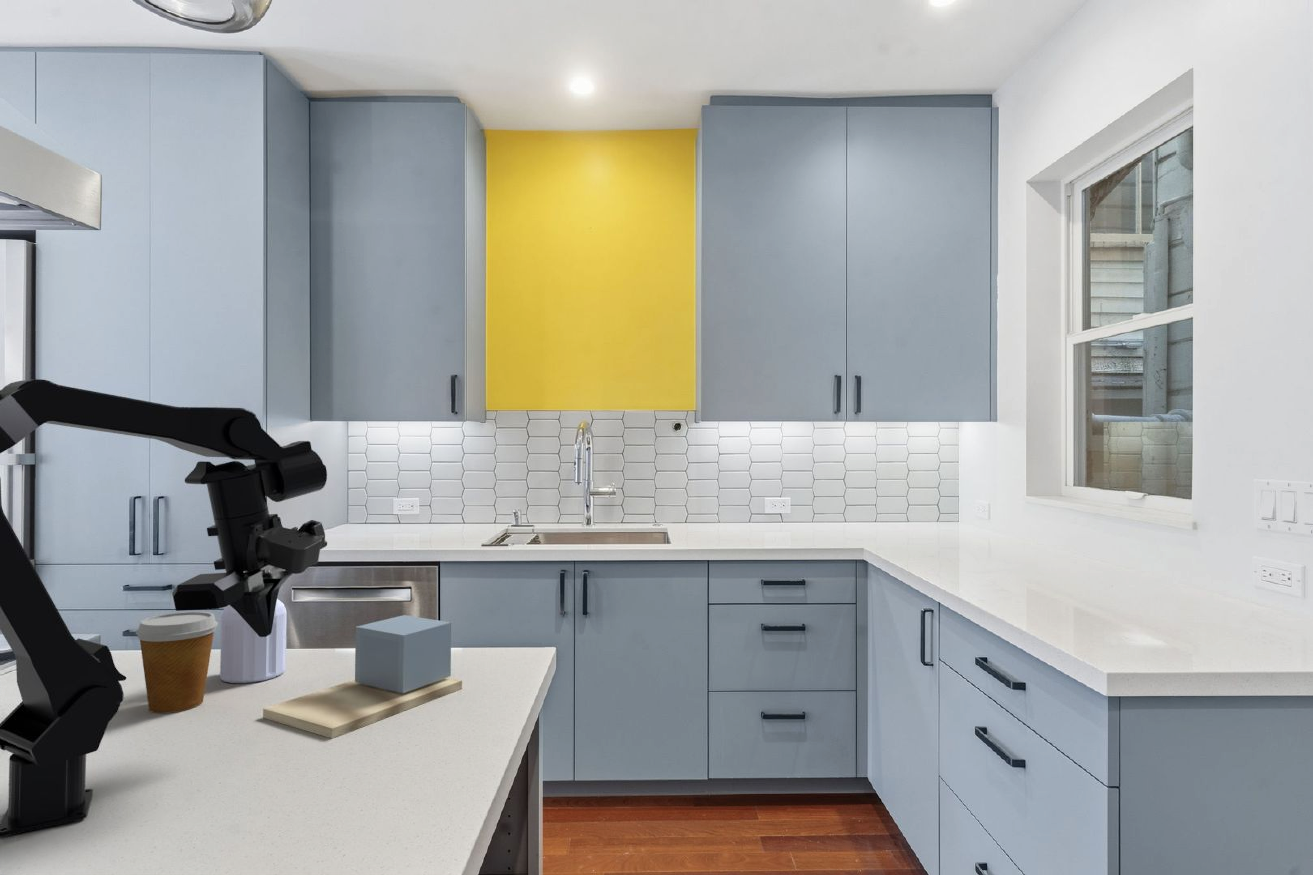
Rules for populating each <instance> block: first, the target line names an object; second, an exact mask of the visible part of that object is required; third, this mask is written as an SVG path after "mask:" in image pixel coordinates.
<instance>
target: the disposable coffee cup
mask: <svg viewBox="0 0 1313 875" xmlns="http://www.w3.org/2000/svg"><path fill="white" fill-rule="evenodd" d="M215 617H216V616H215V614H214V613H213V612H209V611H183V612H182V611H178V612H172V613H163V614H157V615H154V616H150V617H147V618H144V619H142V620H141V621H140V623H139V626H138V629H136V631H135V635H136V636H137V639H138V640H139V642H140V644H139V645H140V650H141V659H142V666H143V672H144V674H143V675H144V681H145V689H146V690H145V691H146V696H147V705H148V711H149V712H151V713H156V714H169V713H177V712H183V711H187V710H190V709H193V708H196V707H198V706H200V705H202V704H203V703H204V699H205V698H204V696H205V689H206V684H207V676H208V671H209V665H210V661H211V660H210V659H211V652H212V647H213V640H214V633H215V631H216V629H217V627H218V625H219V623H218V621H216V618H215Z"/></svg>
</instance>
